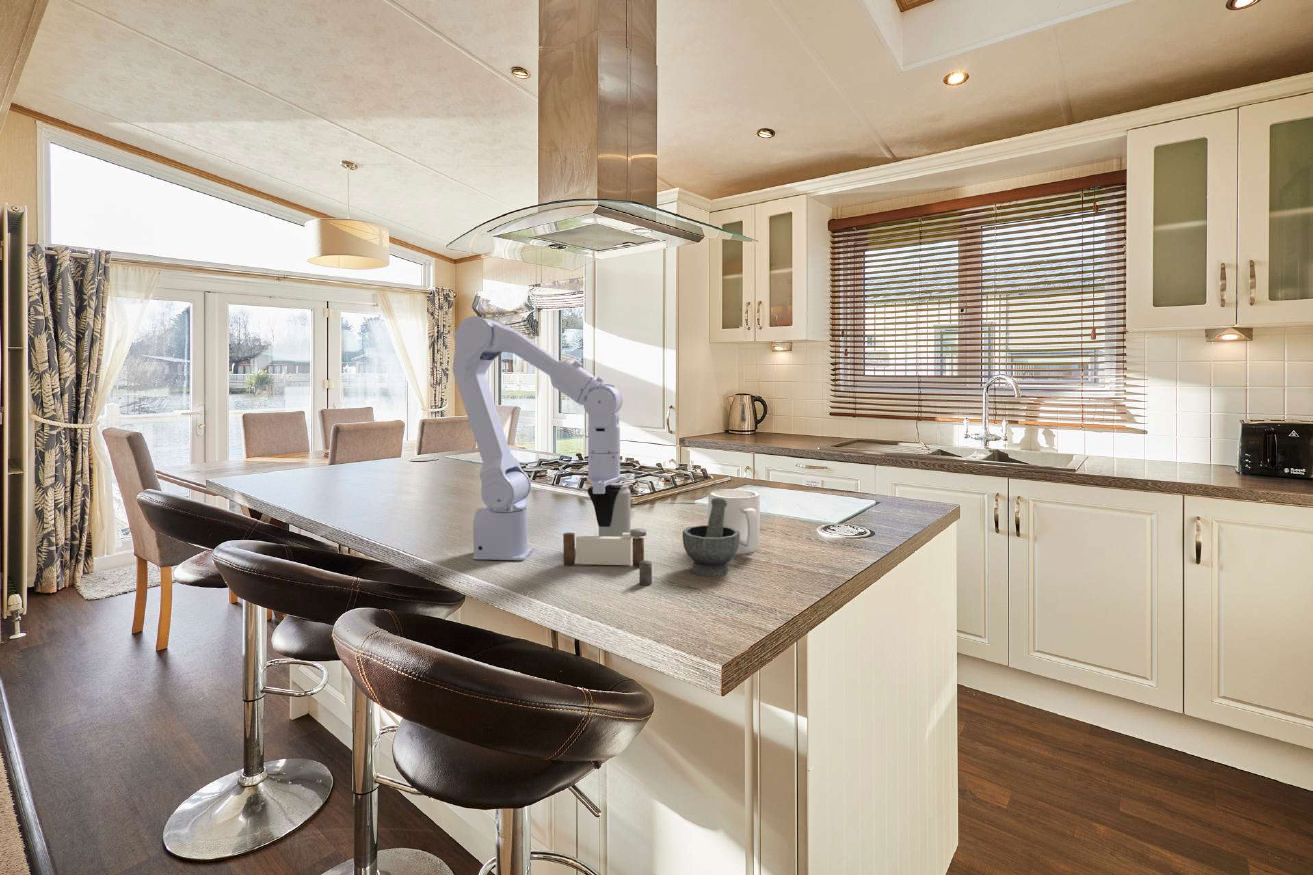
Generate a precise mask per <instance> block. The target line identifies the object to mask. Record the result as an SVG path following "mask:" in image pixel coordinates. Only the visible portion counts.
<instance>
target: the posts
mask: <svg viewBox="0 0 1313 875" xmlns="http://www.w3.org/2000/svg"><path fill="white" fill-rule="evenodd" d="M562 536H563V538H562V540H563V548H562V549H563V550H562V551H563V553H562V554H563V565H564V566H565V567H567V566H568V567H570V566H571V567H572V566H575V564H576V538H575V537H576V535H575V533H574V532H565V533H563V535H562ZM652 566H653V562H652V561H651V560H645V538H644V537H639V538H632V567H633V568H639V574H638V575H639V585H641V586H650V585H652V584H653V582H652V581H653V578H652V577H653V576H652V575H653V574H652V572H653V571H652V570H653V569H652V568H653V567H652Z"/></svg>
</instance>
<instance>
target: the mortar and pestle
mask: <svg viewBox="0 0 1313 875" xmlns="http://www.w3.org/2000/svg"><path fill="white" fill-rule="evenodd" d="M711 503H712V509H711V513H710V518H709V522H708V521H707V524H701V525H694V526H688V527H687V528H685V529H684V530H682V544H683V548H684V550H685V552H686V554H687V556H688V557H689V558H690V559H691V560H692V561H693V564H692V571H693V572H694V573H695V574H698V575H701V576H712V577H715V576H716V577H717V576H718V577H719V576H722V575H726V574H727V573H728V572H729V563H728V562H730V561H731V560H732V559H733V557H734V556H735V555H736V554H735V553H736V551H737V549H738V546H739V540H740V532H739V531H737V530H735V529H734V528H730V527H724V526H723V525H724V513H725V507H726V506H727V502H726V500H724V499H721V498H714V499H712V501H711Z"/></svg>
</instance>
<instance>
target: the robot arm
mask: <svg viewBox="0 0 1313 875" xmlns="http://www.w3.org/2000/svg"><path fill="white" fill-rule="evenodd" d="M453 338H454V343H455V348H454V354H453V362H452V373H453V376H454V379H455V383H456V385H457V389H458V391H459V395H460V398H461V401H462V404H463V407H464V409H465V413H466V416H467V419H468V423H469V425H470V427H471V431H472V435H473V438H474V439H475V443H476V446H477V448H478V452H479V454H480V457H481V461H482V463H481V468H480V471H479V477H480V481H481V489H480V495H481V500H482V501H483V503H484V505H485V506H486V507H479V508H477V509H476V510H475V513H474V517H473V523H472V524H473V525H472V528H473V529H472V531H473V532H472V533H473V536H472V537H473V556H472V559H473V560H494V561H495V560H497V561H524V560H525V559H526V558H527V557H528V556H529V554H530V553H531V552H532V551H534V546H529V545H528V514H527V513H528V508H527V506H528V504H527V501H526V498H528V496H529V495H530V492H531V490H532V482H531V478H530V477H529V476H528V474H527V473H526V472H525V471H524V470H523V469H522V467H521V463H520V461H519V460H518V459H517V458H516V457H515V456H514V455H513V454H512V453H511V450H510V447H509V444H508V441H507V437H506V435H505V431H504V428H503V425H502V422H501V419H500V415H499V414H498V410H497V407H496V403H495V401H494V398H493V395H492V391H491V388H490V386H489V382H488V381H487V380H488V379H487V377H486V372H487V370H488V369H489V367H490V365H491V364H492V362H494V361H495V359H496V358H498V357H499V356H500V355H501V354H502V353H503V352H504V353H511V354H514V355H515V356H517V357H519V359H522V360H523V361H526V362H527V363H529V364H530V365H532V366H533V367H535V368H536V369H538V370H540V371H541V372H544V374H546V375H548V376H549V377H550V378H549V379H550V383H551V386H552V387H553V388H555V389H557V391H559V392H561V393H562V394H563V395H565V396H567V397H568V398H570V399H571V400H572V401H575V402H576V403H577V404H578V405H580V406H582V405H583V408H584V410H585V412H586V413H587V415H588V420H587V421H588V427H587V446H588V448H587V449H588V451H587V452H588V453H587V456H588V457H587V458H588V464H587V465H588V468H587V469H588V475H587V476H586V477H587V478H586V479H587V482H588V483H590V484H591V485H592V486H590V487H588V488H587V495H588V496H589V498H590V500H591V503H592V505H593V508H594V511H595V517H596V522H597V526H598V528H599V527H610V525H611V522H612V517H613V511H614V506H615V501H616V498H617V495H618V493H619V491H620V489H621V486H620V485H611V484H613V483H620V482H623V481H626V480H627V479H628V478H627V475H621V433H620V431H621V427H620V426H621V425H620V413H619V412H620V410H621V408H622V406H623V396H622V393H621V392H620V390H618V389H617V388H616V387H615V386H614V384H610V383H609V384H608V383H607V384H606V383H605V384H604V381H605V379H604V378H603V377H601V376H598V377H596V376H595V375H593V374H592V373H591V372H590V371H588V370H586V369H584V368H583V366H584V365H583V363H581V361H579V360H574V361H573V360H571V359H566V360H562V361H561V360H559V359H557V358H556V357H555V356H553V355H552V354H551V353H549V352H548V351H546V350H545V349H544V348H542V347H541V346H540V345H538V344H537V343H535V342H534V341H533V340H531V339H530V338H528V336H526V335H525V334H524V333H522V332H520V331H518V330H517V329H516V328H513V327H511V326H508V325H506V324H505V323H503V322H502V321H501V320H497V319H487V318H483V317H481V316H477V315H470V316H468V317H465V319H464V320H462V321H461V322H460V324H459V326H458V327H457V329H456V330H455V332H454V334H453Z"/></svg>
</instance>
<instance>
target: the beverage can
mask: <svg viewBox="0 0 1313 875" xmlns="http://www.w3.org/2000/svg"><path fill="white" fill-rule="evenodd" d="M611 485H620V486H621V489H620V491H619V493H618V495H617V498H616V501H615V506H614V511H613V517H612V522H611V525H610V527H599V526H598V536H610V537H622V534H623V533H630V530H631V529H632V528H631V490H630V489H629V486H630V485H629V484H628V483H622V482H621V483H620V482H616V483H613V484H611Z"/></svg>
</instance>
